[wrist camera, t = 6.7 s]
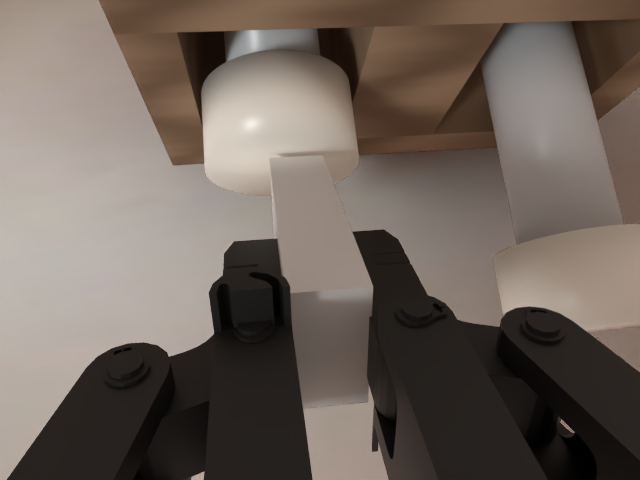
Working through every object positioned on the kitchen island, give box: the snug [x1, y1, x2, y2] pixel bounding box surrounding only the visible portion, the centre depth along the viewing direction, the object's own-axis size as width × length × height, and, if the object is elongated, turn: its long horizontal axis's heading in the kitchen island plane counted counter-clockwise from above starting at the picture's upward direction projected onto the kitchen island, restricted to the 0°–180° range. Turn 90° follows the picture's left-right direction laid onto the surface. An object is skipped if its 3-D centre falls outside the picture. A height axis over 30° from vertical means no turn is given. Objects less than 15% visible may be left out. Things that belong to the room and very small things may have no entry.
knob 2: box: [480, 21, 640, 332], centre depth 17 cm, size 13×5×5 cm, turn 6°
